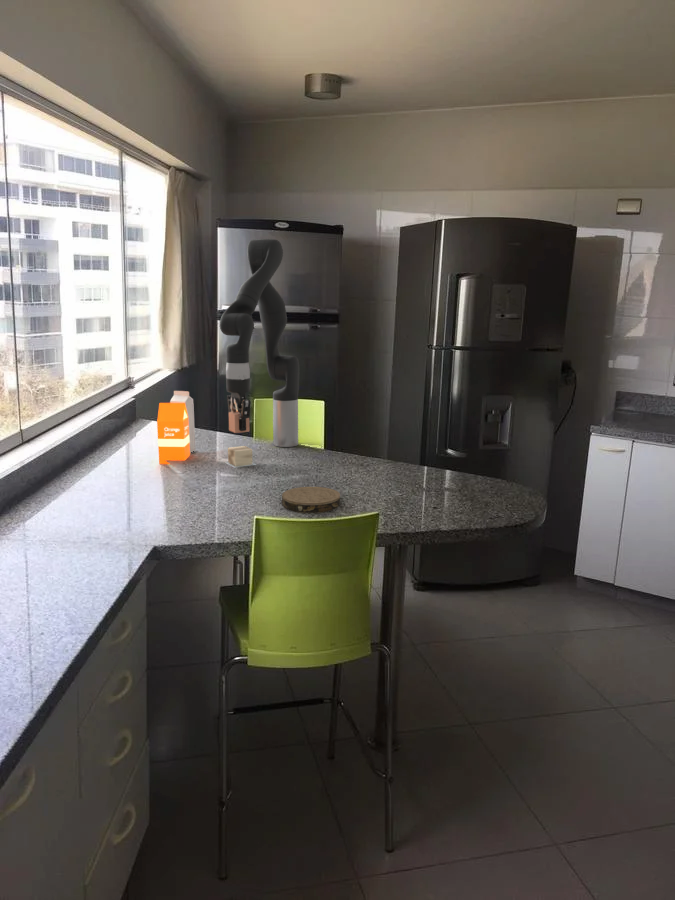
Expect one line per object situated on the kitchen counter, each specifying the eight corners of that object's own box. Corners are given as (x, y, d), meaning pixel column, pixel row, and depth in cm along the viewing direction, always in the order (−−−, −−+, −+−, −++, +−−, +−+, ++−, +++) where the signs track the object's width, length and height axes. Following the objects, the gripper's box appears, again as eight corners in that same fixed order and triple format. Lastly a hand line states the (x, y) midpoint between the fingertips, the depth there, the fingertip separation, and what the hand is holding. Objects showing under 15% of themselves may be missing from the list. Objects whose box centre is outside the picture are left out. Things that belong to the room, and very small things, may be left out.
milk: (180, 450, 258) (177, 389, 253) (195, 451, 257) (193, 390, 252) (172, 453, 253) (169, 391, 248) (187, 454, 251) (184, 392, 246)
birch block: (228, 462, 235) (227, 447, 234) (245, 460, 238) (244, 445, 237) (235, 466, 230) (234, 451, 229) (252, 464, 233) (252, 449, 232)
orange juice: (185, 464, 238) (182, 405, 233) (158, 464, 238) (155, 404, 234) (190, 458, 246) (188, 401, 241) (164, 458, 246) (161, 400, 241)
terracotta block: (229, 430, 232) (228, 412, 231) (243, 428, 235) (242, 410, 234) (235, 433, 228) (234, 414, 227) (249, 431, 231) (249, 413, 229)
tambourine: (352, 505, 196) (352, 495, 195) (308, 518, 185) (308, 507, 184) (313, 493, 207) (313, 483, 206) (270, 504, 196) (270, 494, 196)
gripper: (218, 375, 232) (220, 426, 236) (235, 380, 220) (237, 434, 224) (240, 373, 236) (241, 424, 239) (258, 378, 224) (259, 431, 227)
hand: (239, 428), depth 231 cm, fingers closed on terracotta block, 5 cm apart
